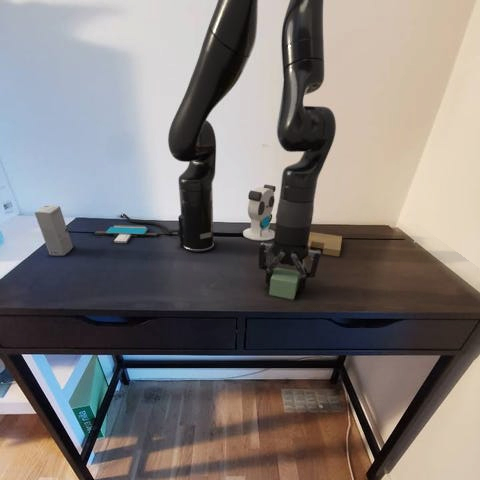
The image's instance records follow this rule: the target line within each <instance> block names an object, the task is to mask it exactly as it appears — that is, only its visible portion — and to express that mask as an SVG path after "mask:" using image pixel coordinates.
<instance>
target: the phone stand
mask: <svg viewBox="0 0 480 480" xmlns="http://www.w3.org/2000/svg"><path fill="white" fill-rule="evenodd" d="M148 231H149V229H148V228H147V225H133V224H132V225H131V224H113V226H110V227H109V228H108V229H107V230H96V231H94V235H95V236H96V235H97V236H116V237H115V239H114V240H113V243H114V244H127V243H128V242H129V240H130V239H131V237H142V238H143V237H144V238H157V237H158V235H159V234H158V232H148Z"/></svg>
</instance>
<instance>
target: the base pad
mask: <svg viewBox="0 0 480 480" xmlns="http://www.w3.org/2000/svg"><path fill="white" fill-rule="evenodd" d="M342 239H343V236H342V235H336V234H329V233H320V232H315V231H310V235H309V241H308V248H309V250H311V248H313V249H314V248H315V249H322V252H321V255H327V256H333V257H340V255H341V251H342V241H343V240H342Z"/></svg>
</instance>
